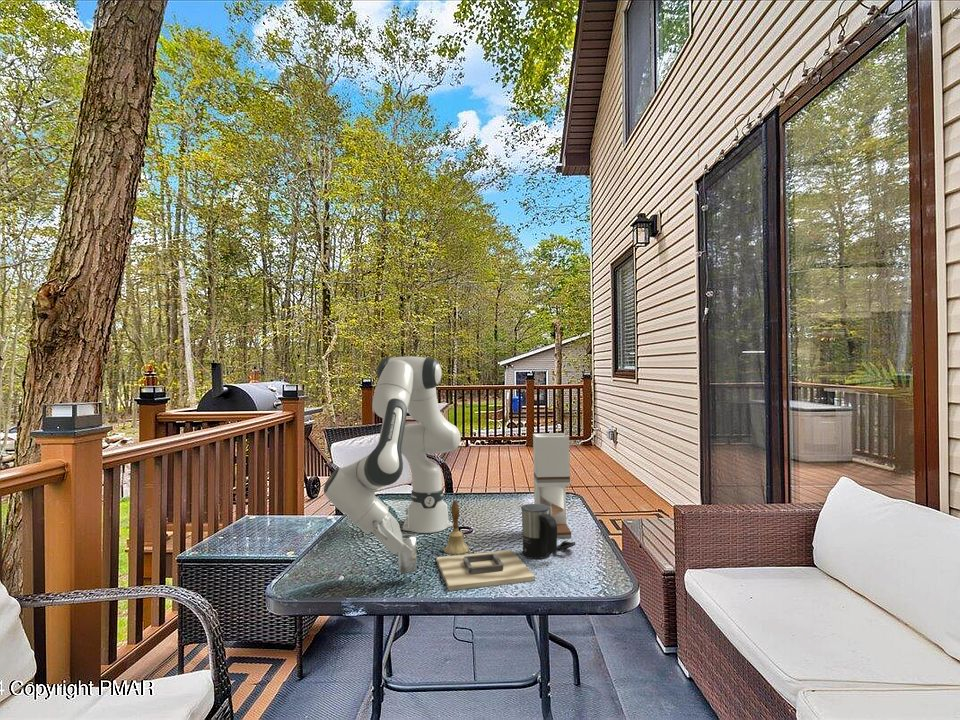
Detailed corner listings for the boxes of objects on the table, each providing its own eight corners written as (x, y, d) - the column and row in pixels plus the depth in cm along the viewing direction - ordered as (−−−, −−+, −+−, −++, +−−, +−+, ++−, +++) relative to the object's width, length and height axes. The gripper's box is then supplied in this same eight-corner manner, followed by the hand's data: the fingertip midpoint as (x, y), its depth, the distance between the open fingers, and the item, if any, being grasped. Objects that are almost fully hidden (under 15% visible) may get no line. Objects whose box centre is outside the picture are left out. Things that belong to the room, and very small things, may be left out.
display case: (538, 538, 172) (536, 437, 173) (534, 529, 182) (532, 433, 184) (571, 538, 172) (569, 436, 173) (566, 529, 182) (563, 433, 184)
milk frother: (515, 554, 157) (514, 507, 157) (544, 541, 168) (543, 497, 169) (553, 565, 147) (552, 515, 148) (581, 551, 159) (580, 504, 159)
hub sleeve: (397, 567, 139) (397, 534, 140) (415, 565, 141) (415, 532, 141) (399, 573, 134) (398, 540, 135) (417, 571, 136) (417, 538, 136)
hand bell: (449, 556, 156) (448, 505, 157) (439, 548, 164) (439, 499, 164) (473, 552, 160) (472, 502, 160) (463, 544, 167) (462, 496, 168)
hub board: (436, 561, 152) (436, 552, 152) (511, 553, 158) (511, 544, 158) (448, 590, 131) (448, 580, 131) (535, 580, 136) (534, 570, 136)
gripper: (383, 518, 126) (422, 553, 128) (380, 499, 146) (413, 529, 148) (365, 538, 125) (404, 572, 127) (364, 515, 145) (398, 546, 147)
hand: (409, 549), depth 138 cm, fingers closed on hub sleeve, 5 cm apart
